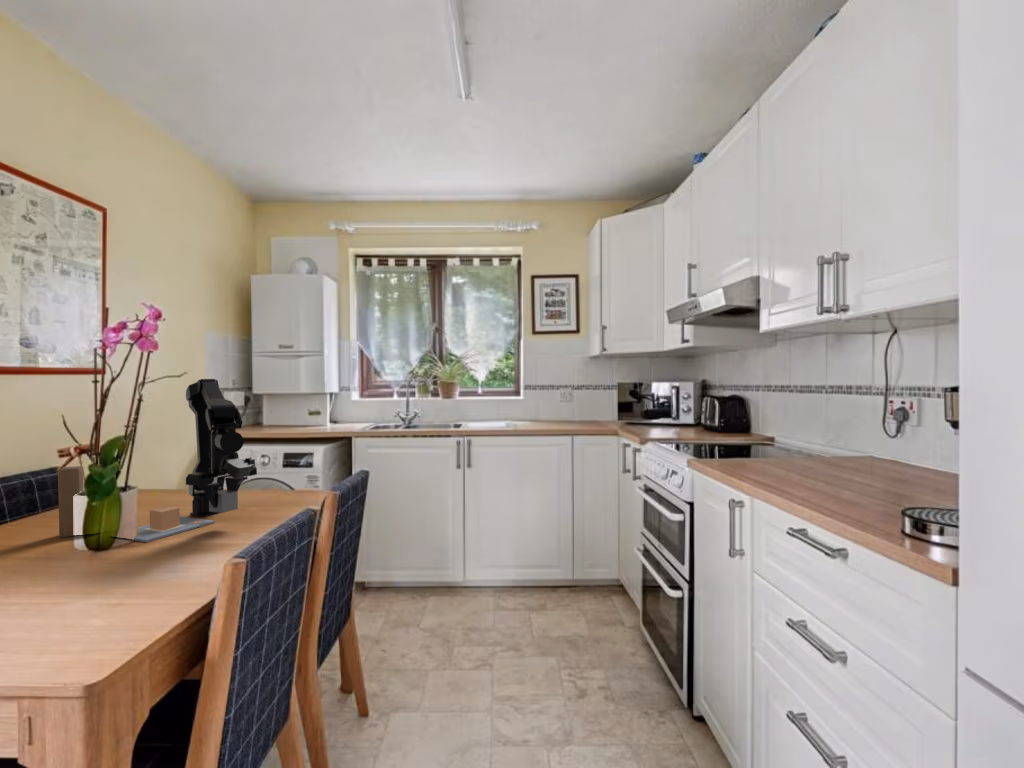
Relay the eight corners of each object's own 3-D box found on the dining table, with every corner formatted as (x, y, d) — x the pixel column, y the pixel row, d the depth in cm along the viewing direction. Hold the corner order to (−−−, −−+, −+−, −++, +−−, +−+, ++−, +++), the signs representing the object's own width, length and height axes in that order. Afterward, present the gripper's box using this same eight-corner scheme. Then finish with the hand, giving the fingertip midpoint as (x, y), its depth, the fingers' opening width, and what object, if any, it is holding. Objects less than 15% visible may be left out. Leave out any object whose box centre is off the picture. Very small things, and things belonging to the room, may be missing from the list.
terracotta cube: (167, 524, 158) (166, 506, 158) (179, 525, 156) (179, 507, 156) (149, 528, 154) (149, 510, 153) (162, 530, 152) (162, 511, 152)
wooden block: (104, 529, 155) (103, 464, 155) (100, 533, 151) (99, 467, 151) (64, 533, 151) (62, 467, 151) (58, 538, 147) (57, 469, 147)
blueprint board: (180, 518, 167) (180, 516, 167) (214, 522, 161) (214, 520, 161) (110, 536, 148) (110, 534, 148) (146, 542, 143) (146, 539, 143)
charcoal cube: (224, 507, 159) (224, 489, 159) (237, 508, 157) (237, 491, 157) (209, 511, 154) (208, 493, 154) (222, 512, 153) (222, 494, 152)
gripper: (214, 455, 144) (215, 516, 144) (271, 446, 161) (271, 500, 161) (183, 453, 148) (184, 512, 148) (242, 444, 165) (242, 497, 166)
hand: (223, 505), depth 156 cm, fingers closed on charcoal cube, 5 cm apart
